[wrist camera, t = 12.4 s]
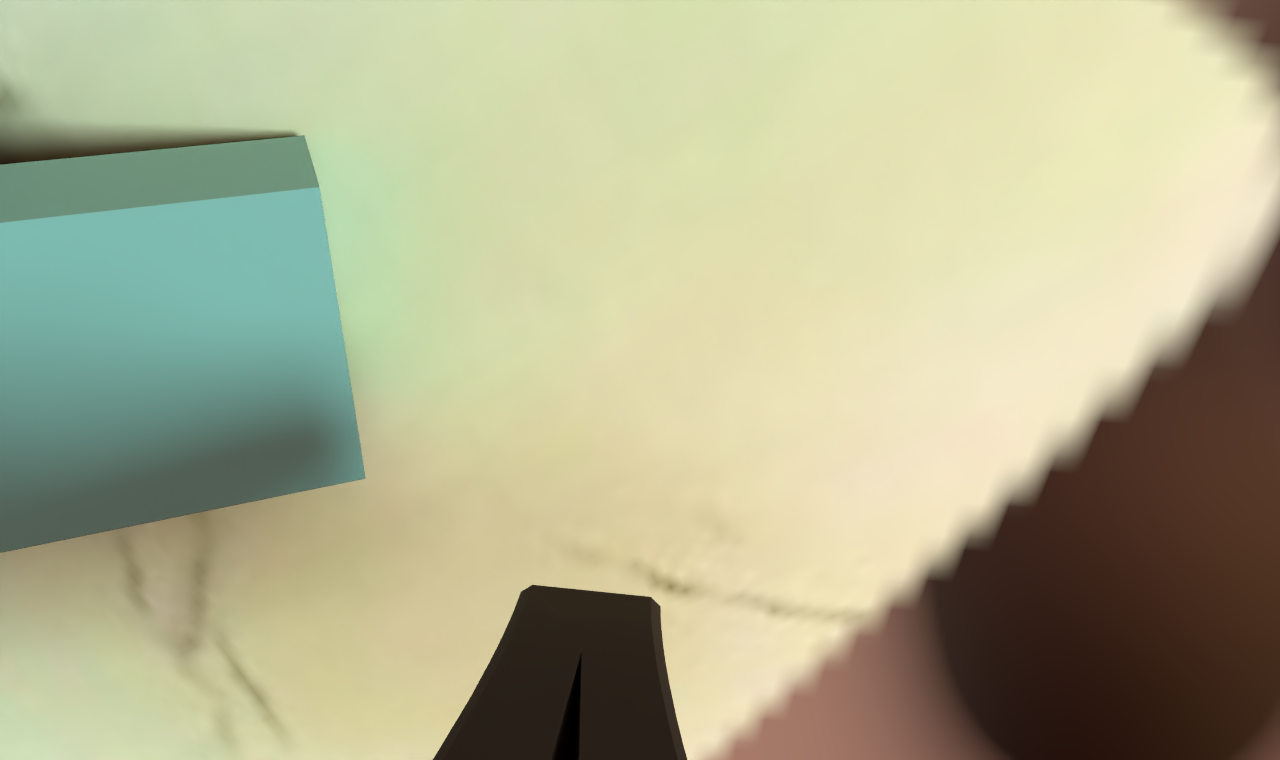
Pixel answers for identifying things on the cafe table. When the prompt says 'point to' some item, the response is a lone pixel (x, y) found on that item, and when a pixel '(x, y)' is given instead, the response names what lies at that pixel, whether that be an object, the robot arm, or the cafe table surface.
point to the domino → (166, 338)
